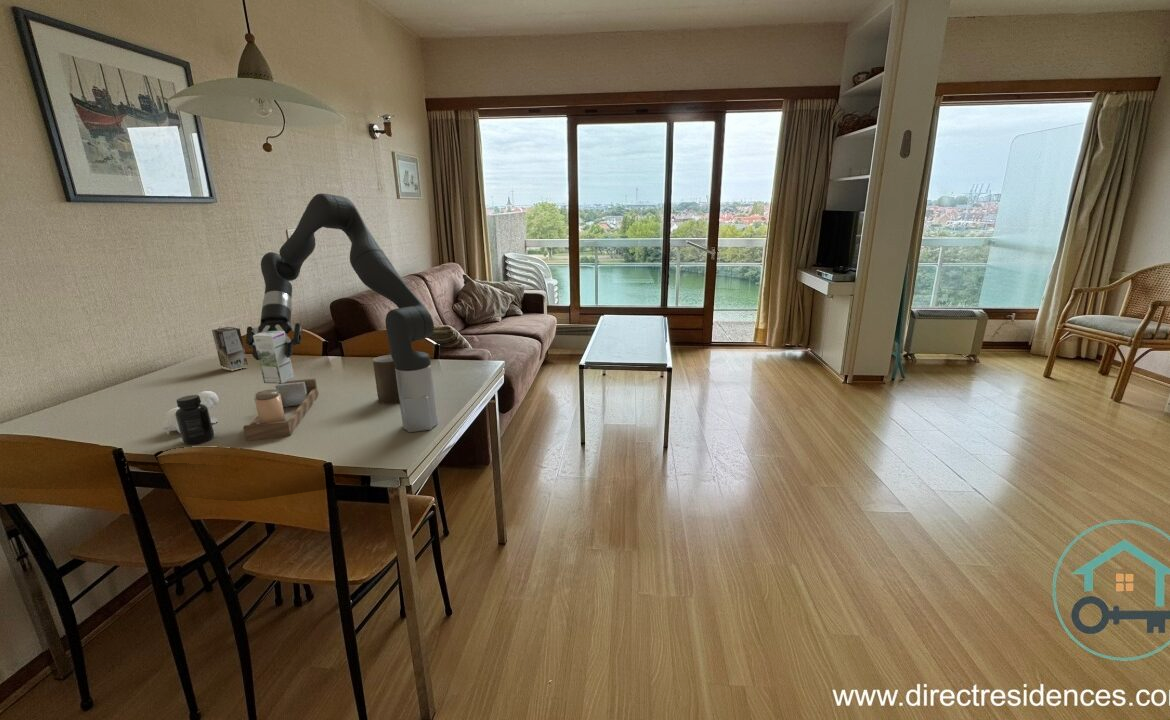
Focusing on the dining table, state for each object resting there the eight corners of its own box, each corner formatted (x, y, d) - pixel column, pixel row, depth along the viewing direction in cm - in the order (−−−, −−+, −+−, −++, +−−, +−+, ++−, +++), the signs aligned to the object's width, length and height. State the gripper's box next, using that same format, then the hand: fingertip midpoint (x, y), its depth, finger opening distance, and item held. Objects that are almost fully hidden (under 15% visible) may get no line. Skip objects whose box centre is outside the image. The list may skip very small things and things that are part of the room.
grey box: (307, 404, 155) (303, 383, 153) (279, 407, 153) (275, 385, 151) (312, 397, 161) (308, 376, 159) (285, 399, 159) (281, 379, 157)
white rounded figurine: (195, 444, 136) (234, 406, 148) (177, 422, 131) (218, 385, 143) (170, 442, 138) (210, 405, 150) (151, 420, 133) (194, 384, 144)
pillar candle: (405, 403, 154) (399, 357, 150) (373, 404, 154) (366, 358, 150) (414, 393, 163) (408, 349, 159) (384, 394, 163) (378, 350, 159)
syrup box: (295, 377, 146) (285, 330, 142) (281, 384, 140) (271, 334, 136) (277, 377, 147) (267, 329, 142) (263, 384, 141) (251, 334, 137)
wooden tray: (290, 435, 133) (286, 414, 131) (246, 440, 130) (241, 419, 129) (318, 395, 163) (315, 378, 161) (283, 399, 160) (279, 381, 159)
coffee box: (249, 367, 196) (240, 328, 192) (231, 372, 191) (221, 331, 187) (238, 364, 201) (229, 326, 196) (220, 368, 196) (211, 329, 191)
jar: (283, 433, 134) (276, 395, 131) (258, 436, 133) (250, 397, 130) (289, 425, 140) (282, 387, 137) (265, 427, 138) (257, 390, 135)
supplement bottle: (220, 433, 135) (210, 392, 132) (203, 445, 129) (191, 402, 125) (195, 434, 135) (184, 393, 132) (176, 446, 128) (164, 403, 125)
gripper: (244, 304, 142) (237, 353, 135) (299, 300, 146) (296, 348, 139) (254, 318, 149) (249, 366, 141) (307, 315, 152) (304, 361, 145)
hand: (272, 357), depth 140 cm, fingers closed on syrup box, 7 cm apart
